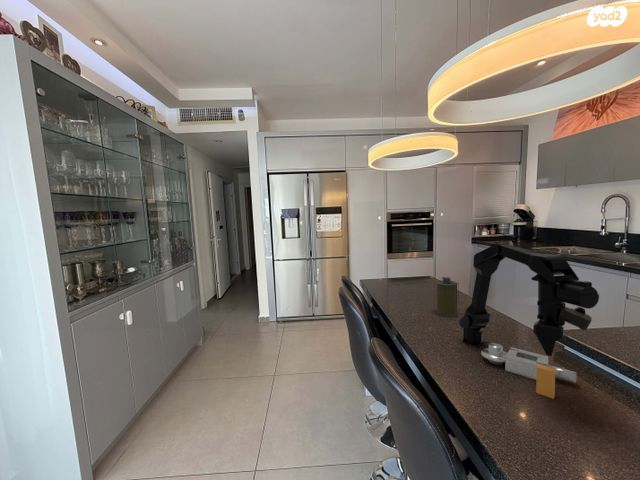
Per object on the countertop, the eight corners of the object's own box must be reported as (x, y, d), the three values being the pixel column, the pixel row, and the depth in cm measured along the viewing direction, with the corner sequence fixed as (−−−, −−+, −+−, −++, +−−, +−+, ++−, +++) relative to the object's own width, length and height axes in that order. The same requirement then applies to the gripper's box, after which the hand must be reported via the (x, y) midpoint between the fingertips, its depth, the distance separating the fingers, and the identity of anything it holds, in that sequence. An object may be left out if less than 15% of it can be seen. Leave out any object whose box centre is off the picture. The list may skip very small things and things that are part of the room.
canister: (435, 315, 146) (434, 278, 144) (438, 309, 154) (438, 275, 153) (457, 318, 140) (457, 280, 138) (459, 312, 148) (459, 276, 147)
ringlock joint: (478, 362, 98) (478, 346, 97) (485, 352, 104) (485, 337, 103) (575, 392, 79) (575, 372, 79) (576, 378, 86) (577, 360, 85)
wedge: (536, 393, 80) (536, 367, 79) (537, 389, 81) (537, 364, 81) (553, 399, 77) (554, 372, 76) (554, 394, 79) (555, 368, 78)
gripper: (590, 311, 66) (589, 372, 67) (588, 295, 80) (587, 346, 81) (533, 304, 74) (533, 358, 75) (540, 290, 88) (540, 336, 89)
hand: (550, 349), depth 80 cm, fingers open, 9 cm apart
